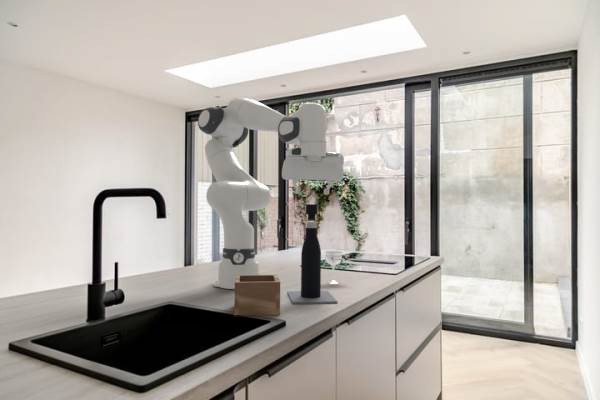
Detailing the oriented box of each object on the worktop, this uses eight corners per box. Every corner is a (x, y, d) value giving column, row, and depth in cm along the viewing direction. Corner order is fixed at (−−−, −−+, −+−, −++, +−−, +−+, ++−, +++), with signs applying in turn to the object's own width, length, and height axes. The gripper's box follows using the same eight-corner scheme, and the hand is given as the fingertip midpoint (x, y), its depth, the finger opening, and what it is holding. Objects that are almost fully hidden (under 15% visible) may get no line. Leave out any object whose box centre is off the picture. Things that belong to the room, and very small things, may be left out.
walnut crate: (235, 305, 124) (236, 275, 124) (276, 304, 125) (277, 274, 126) (234, 315, 112) (234, 282, 112) (279, 314, 113) (280, 282, 113)
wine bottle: (318, 299, 131) (319, 204, 131) (299, 297, 132) (300, 204, 132) (321, 294, 137) (322, 204, 137) (303, 293, 138) (304, 204, 139)
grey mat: (287, 293, 142) (287, 291, 142) (327, 292, 143) (327, 290, 144) (292, 304, 126) (292, 302, 126) (337, 303, 128) (337, 301, 128)
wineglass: (321, 282, 162) (321, 252, 163) (330, 280, 168) (330, 250, 168) (336, 284, 158) (336, 253, 159) (344, 282, 164) (345, 251, 164)
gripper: (341, 154, 140) (341, 194, 140) (281, 152, 137) (281, 193, 137) (346, 151, 134) (345, 194, 133) (283, 149, 131) (282, 193, 131)
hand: (312, 194), depth 135 cm, fingers open, 8 cm apart
